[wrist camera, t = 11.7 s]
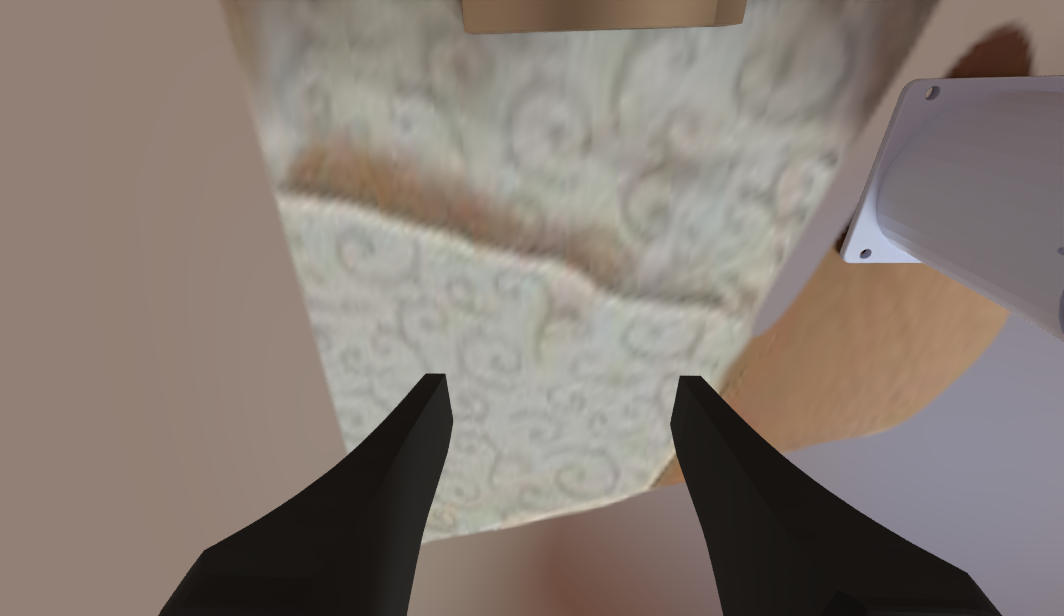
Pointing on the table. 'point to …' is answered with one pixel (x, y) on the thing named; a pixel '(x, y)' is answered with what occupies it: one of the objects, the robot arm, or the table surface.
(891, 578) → the robot arm
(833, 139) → the table surface
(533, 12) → the wooden frame
